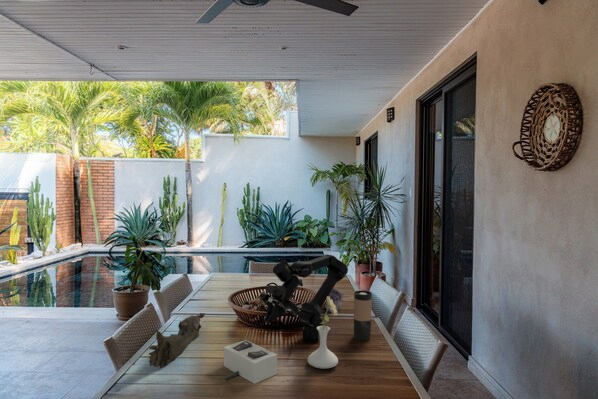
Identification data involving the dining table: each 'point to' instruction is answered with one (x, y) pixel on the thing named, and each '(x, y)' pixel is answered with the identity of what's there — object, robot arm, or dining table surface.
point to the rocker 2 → (256, 354)
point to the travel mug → (362, 315)
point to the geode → (335, 300)
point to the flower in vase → (324, 344)
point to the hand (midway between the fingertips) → (266, 321)
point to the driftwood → (175, 341)
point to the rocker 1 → (243, 346)
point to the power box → (250, 363)
